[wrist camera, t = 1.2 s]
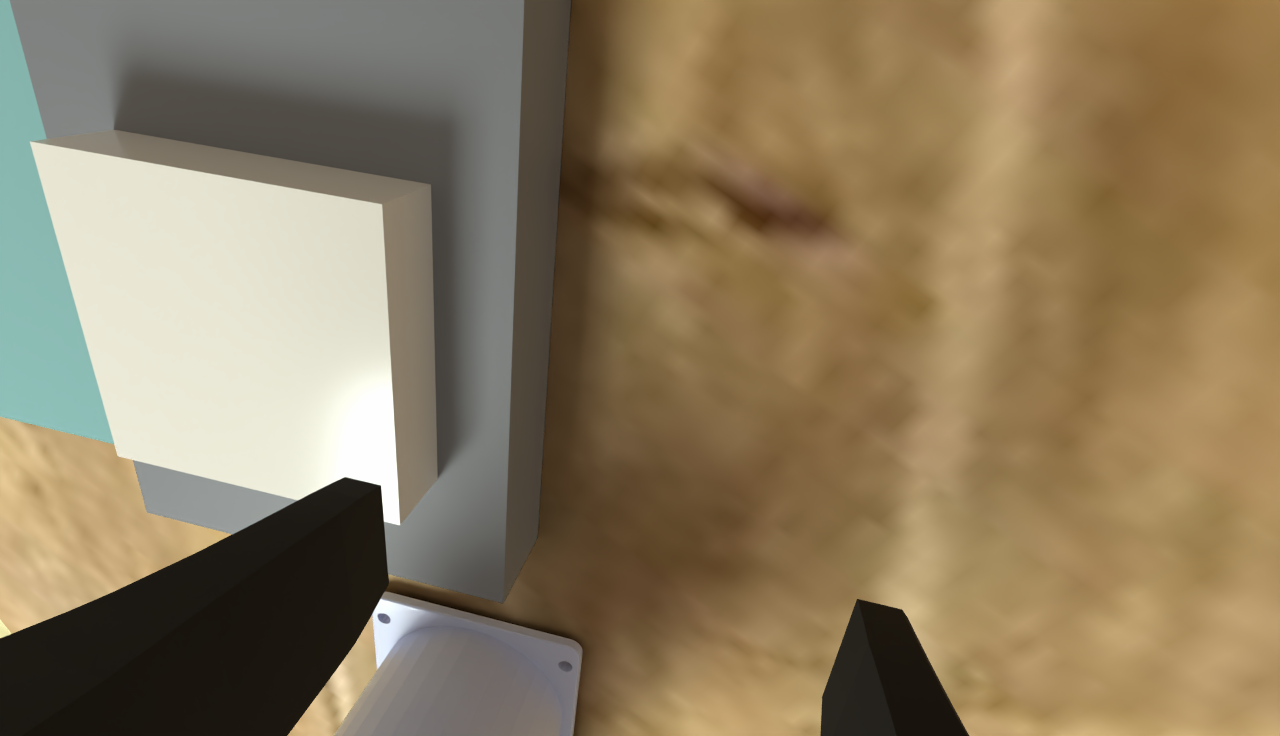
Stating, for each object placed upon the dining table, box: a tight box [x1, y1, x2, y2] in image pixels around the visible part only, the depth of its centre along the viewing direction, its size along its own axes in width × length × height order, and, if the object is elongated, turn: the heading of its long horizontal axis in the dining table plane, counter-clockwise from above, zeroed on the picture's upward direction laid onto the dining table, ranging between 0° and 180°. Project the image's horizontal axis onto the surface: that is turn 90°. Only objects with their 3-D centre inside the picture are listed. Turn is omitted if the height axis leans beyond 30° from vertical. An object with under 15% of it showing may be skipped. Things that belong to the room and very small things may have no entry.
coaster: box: [30, 130, 438, 525], centre depth 17 cm, size 8×8×2 cm
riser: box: [10, 0, 571, 603], centre depth 19 cm, size 16×12×3 cm
